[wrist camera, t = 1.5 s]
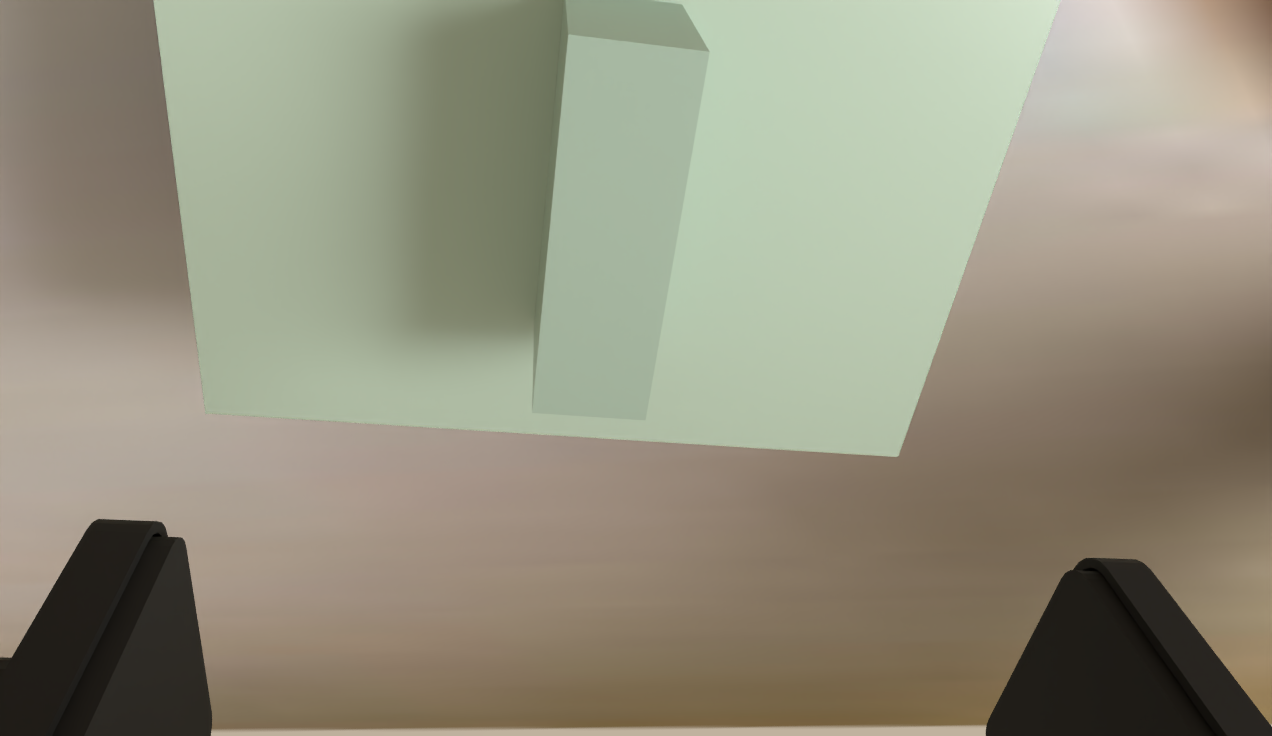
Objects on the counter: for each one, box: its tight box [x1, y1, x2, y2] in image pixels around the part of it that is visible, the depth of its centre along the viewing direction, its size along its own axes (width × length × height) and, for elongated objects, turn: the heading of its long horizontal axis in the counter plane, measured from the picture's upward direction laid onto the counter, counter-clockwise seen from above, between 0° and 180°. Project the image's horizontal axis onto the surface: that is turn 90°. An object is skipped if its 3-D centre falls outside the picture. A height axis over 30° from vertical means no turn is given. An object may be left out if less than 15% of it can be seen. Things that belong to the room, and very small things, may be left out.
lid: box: [153, 0, 1061, 457], centre depth 21 cm, size 19×15×6 cm
